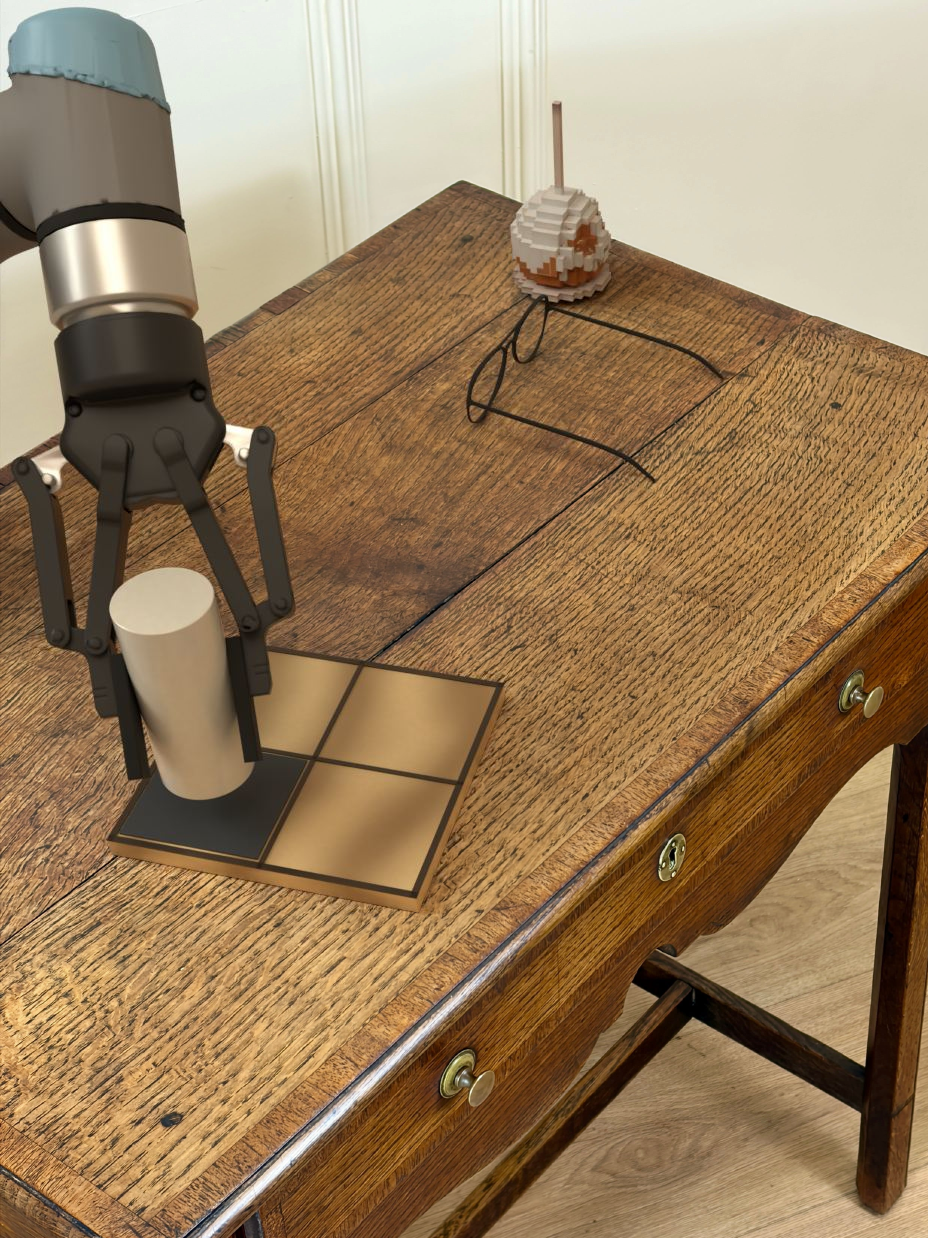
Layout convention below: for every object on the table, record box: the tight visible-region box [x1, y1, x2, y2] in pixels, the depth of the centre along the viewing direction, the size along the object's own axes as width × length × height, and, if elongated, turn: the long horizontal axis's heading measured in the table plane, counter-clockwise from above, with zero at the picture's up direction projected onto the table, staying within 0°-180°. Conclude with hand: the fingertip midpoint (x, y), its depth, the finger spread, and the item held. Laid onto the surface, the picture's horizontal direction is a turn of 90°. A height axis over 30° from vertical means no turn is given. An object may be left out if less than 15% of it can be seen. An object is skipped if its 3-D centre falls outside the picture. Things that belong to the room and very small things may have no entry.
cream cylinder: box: [109, 566, 255, 800], centre depth 83 cm, size 5×5×12 cm
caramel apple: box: [509, 100, 612, 303], centre depth 125 cm, size 8×8×15 cm
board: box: [105, 644, 506, 913], centre depth 92 cm, size 18×17×1 cm
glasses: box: [465, 294, 724, 483], centre depth 116 cm, size 14×15×5 cm
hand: (196, 769), depth 83 cm, fingers closed on cream cylinder, 5 cm apart
